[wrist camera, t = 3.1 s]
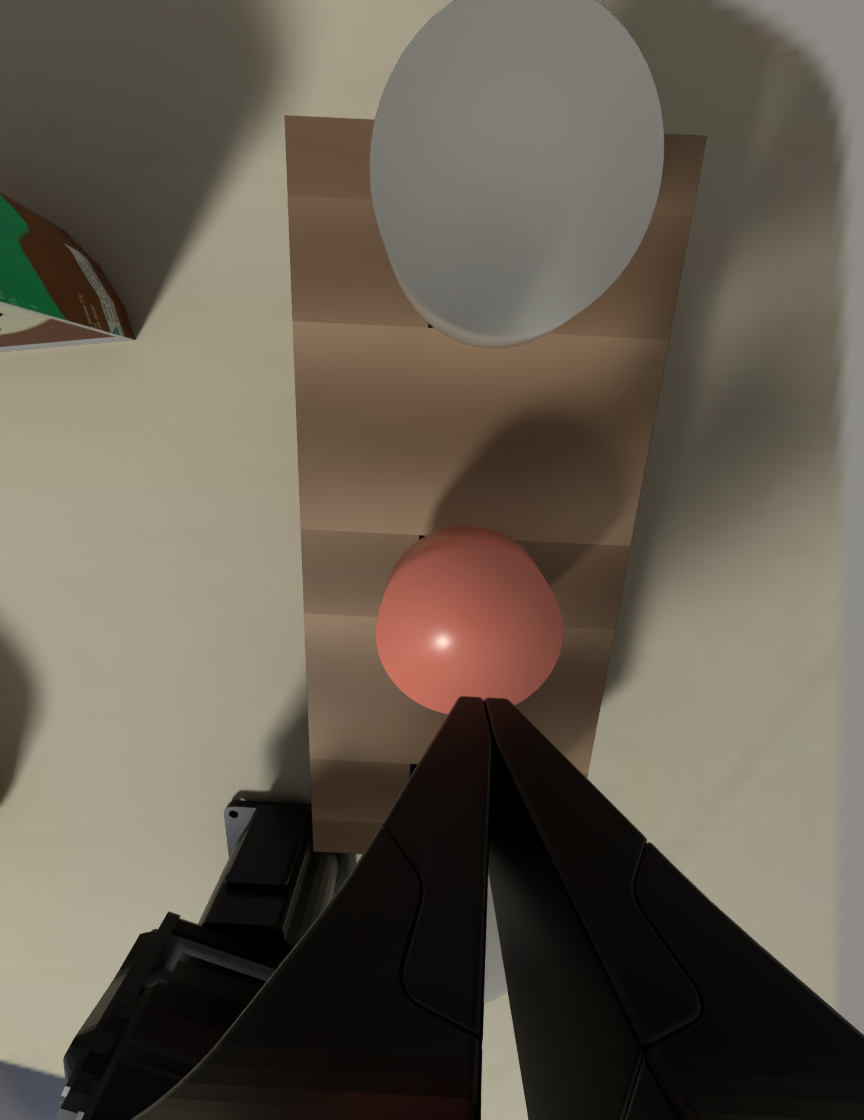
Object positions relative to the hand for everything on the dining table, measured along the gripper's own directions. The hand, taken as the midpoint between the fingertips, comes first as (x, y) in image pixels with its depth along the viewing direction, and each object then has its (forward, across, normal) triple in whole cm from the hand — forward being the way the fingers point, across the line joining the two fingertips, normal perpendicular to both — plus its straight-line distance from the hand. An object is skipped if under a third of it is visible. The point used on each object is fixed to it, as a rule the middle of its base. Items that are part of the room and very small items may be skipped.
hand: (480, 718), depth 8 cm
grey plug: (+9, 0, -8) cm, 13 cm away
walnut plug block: (+13, 0, 0) cm, 13 cm away
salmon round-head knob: (+11, 0, 0) cm, 11 cm away
